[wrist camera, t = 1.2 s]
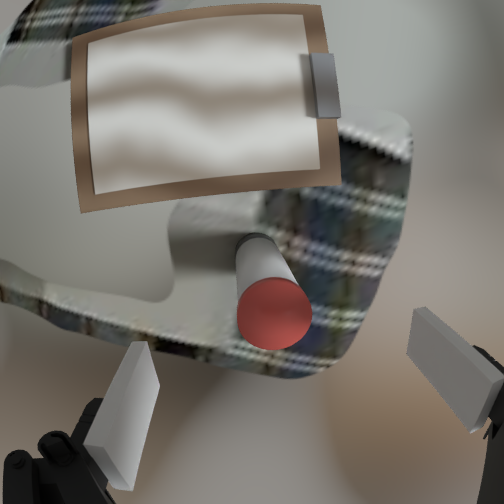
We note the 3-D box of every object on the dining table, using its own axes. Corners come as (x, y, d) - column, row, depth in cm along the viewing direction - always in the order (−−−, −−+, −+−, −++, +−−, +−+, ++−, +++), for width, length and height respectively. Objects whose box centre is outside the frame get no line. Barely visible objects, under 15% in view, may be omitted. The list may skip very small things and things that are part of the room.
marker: (231, 234, 29) (233, 287, 16) (277, 229, 29) (311, 279, 17) (236, 276, 30) (241, 353, 18) (279, 272, 30) (312, 344, 18)
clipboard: (78, 42, 22) (67, 34, 20) (316, 11, 23) (323, -1, 21) (87, 210, 27) (75, 215, 25) (336, 183, 28) (346, 185, 26)
